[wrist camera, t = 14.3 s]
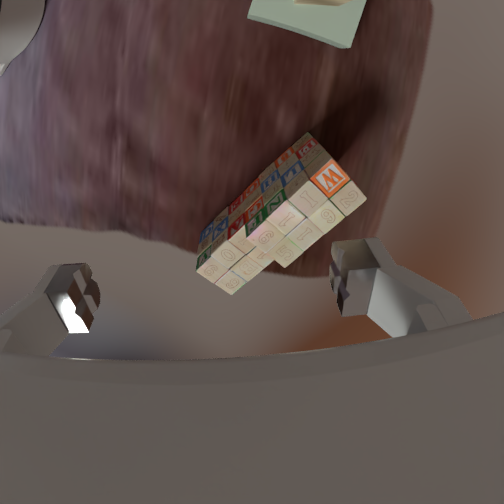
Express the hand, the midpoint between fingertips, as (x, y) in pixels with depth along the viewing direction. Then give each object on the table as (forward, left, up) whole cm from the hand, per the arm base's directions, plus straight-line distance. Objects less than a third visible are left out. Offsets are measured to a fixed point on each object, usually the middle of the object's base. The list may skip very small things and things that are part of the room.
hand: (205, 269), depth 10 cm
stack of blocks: (+8, -11, -33) cm, 36 cm away
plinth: (+5, +18, -33) cm, 38 cm away
